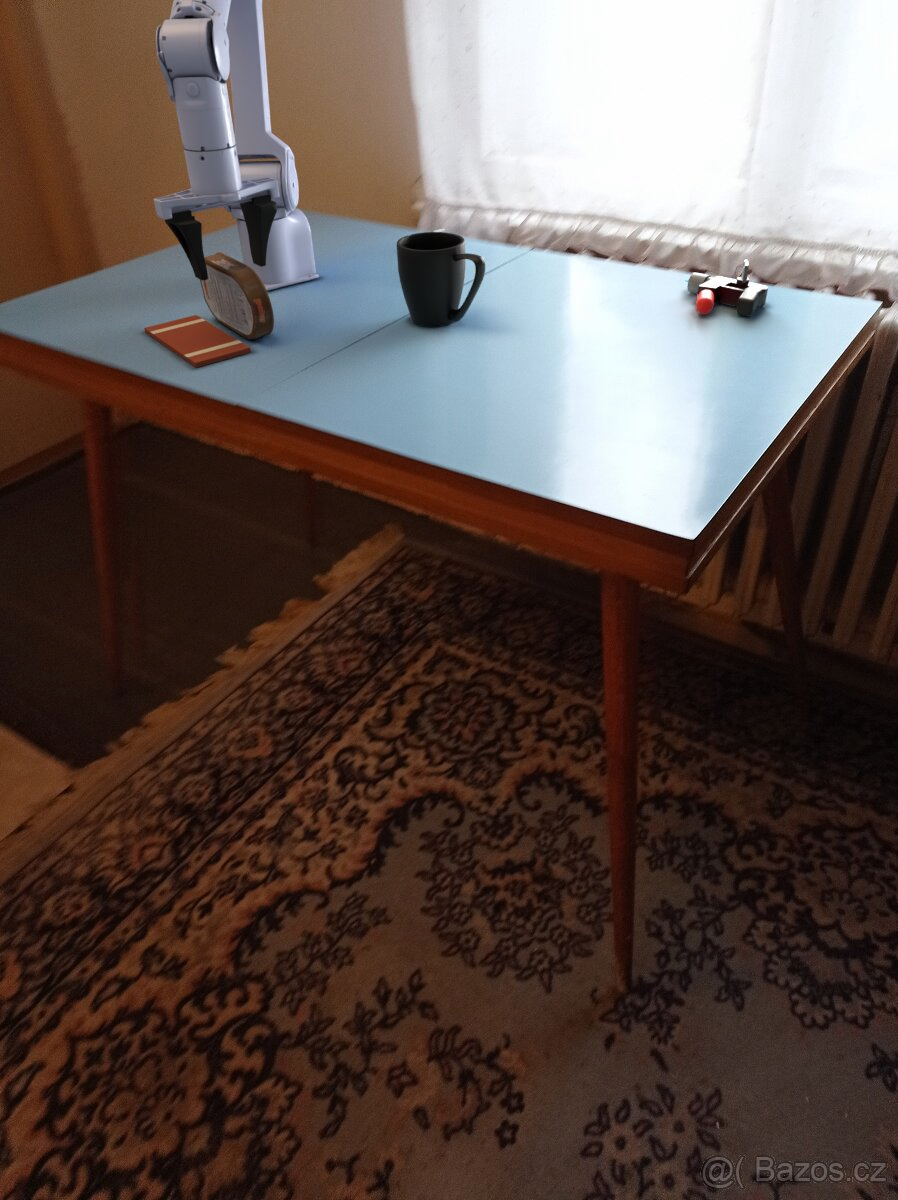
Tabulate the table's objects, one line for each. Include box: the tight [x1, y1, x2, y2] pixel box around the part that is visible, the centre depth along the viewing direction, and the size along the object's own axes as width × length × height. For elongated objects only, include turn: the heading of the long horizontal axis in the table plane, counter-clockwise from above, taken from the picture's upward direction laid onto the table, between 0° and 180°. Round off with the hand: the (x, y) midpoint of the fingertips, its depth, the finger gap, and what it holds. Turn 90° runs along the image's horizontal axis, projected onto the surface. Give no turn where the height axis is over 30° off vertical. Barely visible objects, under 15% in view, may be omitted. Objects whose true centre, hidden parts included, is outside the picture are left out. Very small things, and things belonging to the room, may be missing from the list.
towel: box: [143, 314, 252, 368], centre depth 110 cm, size 7×15×1 cm, turn 37°
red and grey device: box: [684, 258, 769, 317], centre depth 113 cm, size 10×12×5 cm
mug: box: [396, 231, 486, 328], centre depth 110 cm, size 8×12×10 cm
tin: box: [199, 251, 275, 340], centre depth 110 cm, size 15×3×8 cm, turn 37°
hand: (231, 271), depth 108 cm, fingers open, 7 cm apart
